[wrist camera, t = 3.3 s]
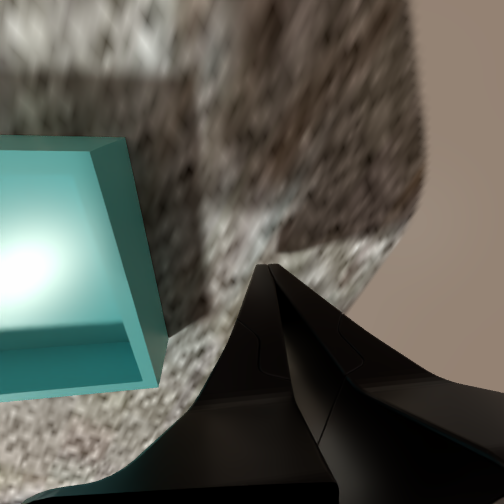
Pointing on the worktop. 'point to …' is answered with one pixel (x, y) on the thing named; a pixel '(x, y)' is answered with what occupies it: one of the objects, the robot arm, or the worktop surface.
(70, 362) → the tray
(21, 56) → the worktop surface
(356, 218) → the worktop surface
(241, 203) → the worktop surface
